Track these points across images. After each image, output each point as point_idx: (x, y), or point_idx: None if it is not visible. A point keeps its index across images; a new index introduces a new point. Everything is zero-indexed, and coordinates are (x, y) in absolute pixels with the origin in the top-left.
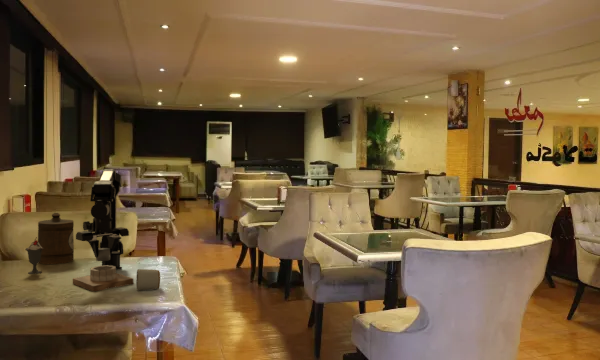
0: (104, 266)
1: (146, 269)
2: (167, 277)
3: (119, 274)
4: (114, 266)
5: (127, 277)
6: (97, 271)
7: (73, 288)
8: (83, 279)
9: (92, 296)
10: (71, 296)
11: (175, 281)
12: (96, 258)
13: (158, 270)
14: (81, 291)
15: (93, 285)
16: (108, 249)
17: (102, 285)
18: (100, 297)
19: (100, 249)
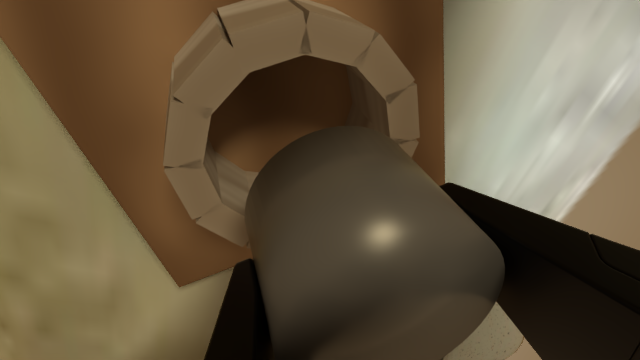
0: (340, 62)
1: (481, 357)
2: (623, 101)
3: (435, 22)
4: (416, 123)
5: (432, 147)
6: (229, 235)
7: (20, 148)
8: (96, 75)
9: (168, 331)
10: (40, 319)
11: (581, 191)
12: (250, 245)
13: (521, 343)
14: (99, 240)
15: (181, 274)
16: (452, 339)
17: (239, 259)
18: (205, 347)
19: (353, 328)
